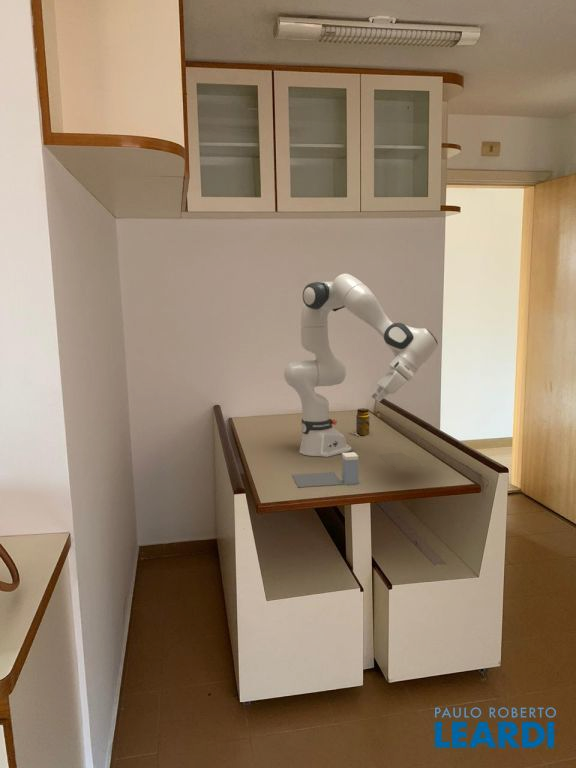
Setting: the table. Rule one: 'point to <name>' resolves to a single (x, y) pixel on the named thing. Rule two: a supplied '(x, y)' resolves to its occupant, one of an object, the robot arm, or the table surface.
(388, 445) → the table surface
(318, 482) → the mat
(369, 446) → the table surface
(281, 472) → the table surface
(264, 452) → the table surface
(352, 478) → the box
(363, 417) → the condiment
